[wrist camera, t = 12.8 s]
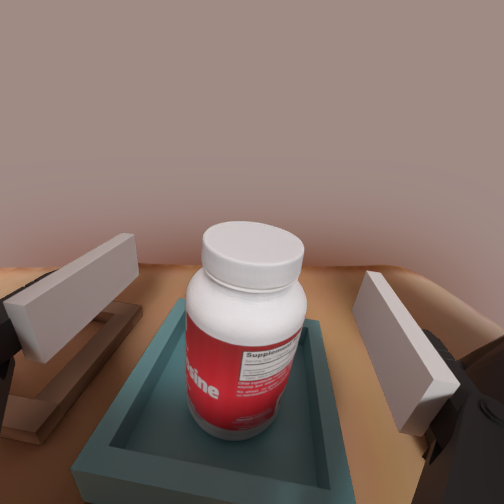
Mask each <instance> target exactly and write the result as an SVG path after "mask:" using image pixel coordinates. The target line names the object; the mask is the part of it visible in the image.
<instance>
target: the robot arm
mask: <svg viewBox="0 0 504 504" xmlns="http://www.w3.org/2000/svg"><path fill="white" fill-rule="evenodd" d="M138 276H139V268H138V258H137V249H136V239H135V234H129V233H121V234H119V235H117V236H115V237H114V238H112V239H110V240H108V241H107V242H105V243H103V244H102V245H100V246H98V247H96V248H95V249H93V250H91V251H90V252H88V253H86V254H85V255H83V256H81V257H79V258H77V259H76V260H74V261H72V262H71V263H69V264H67V265H65V266H64V267H62V268H60V269H57V270H55V271H52V272H49V273H46V274H44V275H42V276H41V277H39V278H37V279H35V281H32V282H30V283H28V284H26V285H25V287H21V288H19V289H18V290H16V291H14V292H12V293H11V294H9V295H7V296H5V297H4V298H2V299H0V433H1V428H2V424H3V419H4V414H5V409H6V405H7V400H8V395H9V390H10V386H11V381H12V376H13V371H14V367H15V359H14V357H13V356H14V355H15V354H16V353H17V352H19V351H20V350H21V349H22V351H23V353H24V355H25V358H26V360H27V361H33V362H38V363H43V364H46V363H47V362H48V361H49V360H50V359H51V358H52V357H53V356H54V355H55V354H56V353H57V352H58V351H60V350H61V349H62V348H63V347H64V346H65V345H66V344H67V343H68V342H69V341H70V340H71V339H72V338H73V337H74V336H75V335H76V334H78V333H79V332H80V331H81V330H82V329H83V328H84V327H85V326H86V325H87V324H88V323H89V322H90V321H91V320H92V319H93V318H94V317H96V316H97V315H98V314H99V313H100V312H101V311H102V310H103V309H104V308H105V307H106V306H107V305H108V304H109V303H110V302H111V301H113V300H114V299H115V298H116V297H117V296H118V295H119V294H120V293H121V292H122V291H123V290H124V289H125V288H126V287H127V286H128V285H129V284H131V283H132V282H133V281H134V280H135V279H136V278H137V277H138ZM352 313H353V316H354V318H355V321H356V323H357V326H358V328H359V331H360V334H361V336H362V339H363V341H364V344H365V346H366V349H367V351H368V354H369V357H370V359H371V362H372V364H373V367H374V369H375V372H376V375H377V377H378V380H379V382H380V385H381V387H382V390H383V392H384V395H385V398H386V400H387V403H388V405H389V408H390V410H391V413H392V416H393V418H394V421H395V423H396V426H397V428H398V431H399V433H404V434H410V435H415V436H420V437H422V436H423V435H424V433H425V434H426V438H427V442H428V445H429V448H428V449H427V451H426V452H425V453H424V455H423V456H422V457H423V458H424V459H425V460H426V462H425V465H424V468H423V471H422V473H421V476H420V479H419V482H418V485H417V488H416V491H415V494H414V497H413V500H412V503H411V504H504V335H503V336H501V337H499V338H497V339H495V340H494V341H492V342H490V343H488V344H486V345H484V346H483V347H481V348H479V349H477V350H475V351H473V352H472V353H470V354H468V355H466V356H465V357H463V358H462V359H460V360H457V361H455V359H454V358H453V356H452V355H451V354H450V353H449V352H448V350H447V349H446V347H445V346H444V345H443V343H442V342H441V341H440V340H439V339H438V338H437V337H436V336H435V335H433V334H432V333H431V332H430V331H428V330H425V329H421V328H420V327H419V326H418V324H417V323H416V321H415V320H414V319H413V317H412V316H411V315H410V313H409V312H408V310H407V309H406V308H405V306H404V305H403V303H402V302H401V301H400V299H399V298H398V296H397V295H396V294H395V292H394V291H393V289H392V288H391V287H390V285H389V284H388V282H387V281H386V280H385V278H384V277H383V275H382V274H381V273H378V272H372V271H366V273H365V276H364V278H363V281H362V284H361V286H360V289H359V292H358V295H357V297H356V300H355V303H354V305H353V308H352Z"/></svg>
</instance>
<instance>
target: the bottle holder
mask: <svg viewBox="0 0 504 504" xmlns="http://www.w3.org/2000/svg"><path fill="white" fill-rule="evenodd" d="M141 317H142V307H141V306H140V305H134V304H128V303H123V302H117V301H111V302H110V303H109V304H108V305H107V306H106V307H105V308H104V309H103V310H102V311H101V312H100V313H99V314H98V315H97V316H96V317H94V318H93V319H92V320H95V321H101V322H106V324H105V325H104V326H103V327H102V328H101V329H100V330H99V332H98V333H97V334H96V335H95V336H94V337H93V338H92V339H91V340H90V341H89V342H88V343H87V344H86V345H85V346H84V347H83V348H82V350H81V351H80V352H79V353H78V354H77V355H76V356H75V357H74V358H73V359H72V360H71V361H70V362H69V363H68V364H67V365H66V366H65V367H64V369H63V370H62V371H61V372H60V373H59V374H58V375H57V376H56V377H55V378H54V379H53V380H52V381H51V382H50V383H49V384H48V385H47V386H46V388H45V389H44V390H43V391H42V392H41V393H40V394H39V395H38V396H37V397H36V398H35V399H30V398H25V397H20V396H15V395H10V394H9V395H8V400H7V405H6V409H5V414H4V419H3V424H2V428H1V433H0V437H3V438H8V439H13V440H18V441H23V442H28V443H33V444H38V445H42V444H43V442H44V441H45V440H46V438H47V437H48V436H49V435H50V433H51V432H52V431H53V429H54V428H55V427H56V426H57V424H58V423H59V422H60V421H61V419H62V418H63V417H64V415H65V414H66V413H67V412H68V410H69V409H70V408H71V406H72V405H73V404H74V403H75V401H76V400H77V399H78V398H79V396H80V395H81V394H82V392H83V391H84V390H85V389H86V387H87V386H88V385H89V384H90V382H91V381H92V380H93V378H94V377H95V376H96V375H97V373H98V372H99V371H100V369H101V368H102V367H103V366H104V364H105V363H106V362H107V361H108V359H109V358H110V357H111V355H112V354H113V353H114V352H115V350H116V349H117V348H118V346H119V345H120V344H121V343H122V341H123V340H124V339H125V338H126V336H127V335H128V334H129V332H130V331H131V330H132V329H133V327H134V326H135V325H136V324H137V322H138V321H139V320H140V318H141Z"/></svg>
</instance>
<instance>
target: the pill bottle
mask: <svg viewBox="0 0 504 504" xmlns="http://www.w3.org/2000/svg"><path fill="white" fill-rule="evenodd" d="M303 256H304V245H303V243H302V242H301V240H300V239H299V238H298V237H296V236H295V235H293V234H291V233H290V232H288V231H285V230H283V229H280V228H278V227H274V226H271V225H267V224H263V223H257V222H247V221H233V222H224V223H220V224H216V225H214V226H212V227H210V228H208V229H207V230H206V231H205V233H204V235H203V240H202V253H201V260H202V264H203V267H202V268H201V269H199V270H198V271H197V272H196V273H195V274H194V276H193V277H192V279H191V280H190V282H189V285H188V287H187V292H186V305H185V311H186V322H185V336H186V396H187V403H188V407H189V410H190V412H191V414H192V416H193V418H194V420H195V421H196V422H197V424H198V425H199V426H200V427H201V428H202V429H203V430H204V431H205V432H207V433H208V434H210V435H212V436H214V437H216V438H219V439H223V440H229V441H239V440H245V439H249V438H252V437H254V436H256V435H258V434H260V433H261V432H263V431H264V430H265V429H266V428H267V427H268V426H269V425H270V424H271V423H272V422H273V420H274V419H275V417H276V415H277V413H278V411H279V408H280V405H281V402H282V399H283V395H284V391H285V388H286V384H287V381H288V377H289V373H290V370H291V366H292V362H293V359H294V355H295V352H296V348H297V345H298V341H299V338H300V334H301V331H302V327H303V324H304V320H305V315H306V310H307V300H306V295H305V293H304V290H303V288H302V286H301V285H300V283H299V282H298V277H299V275H300V273H301V267H302V260H303Z"/></svg>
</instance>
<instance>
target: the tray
mask: <svg viewBox="0 0 504 504" xmlns="http://www.w3.org/2000/svg"><path fill="white" fill-rule="evenodd" d="M185 305H186V299H182V298H179V299H178V301H177V302H176V304H175V306H174V307H173V309H172V310H171V312H170V313H169V315H168V316H167V318H166V320H165V321H164V323H163V324H162V326H161V327H160V329H159V330H158V332H157V334H156V335H155V337H154V338H153V340H152V341H151V343H150V345H149V346H148V348H147V349H146V351H145V352H144V354H143V355H142V357H141V359H140V360H139V362H138V363H137V365H136V366H135V368H134V370H133V371H132V373H131V374H130V376H129V377H128V379H127V380H126V382H125V384H124V385H123V387H122V388H121V390H120V391H119V393H118V394H117V396H116V398H115V399H114V401H113V402H112V404H111V405H110V407H109V409H108V410H107V412H106V413H105V415H104V416H103V418H102V419H101V421H100V423H99V424H98V426H97V427H96V429H95V430H94V432H93V434H92V435H91V437H90V438H89V440H88V441H87V443H86V444H85V446H84V448H83V449H82V451H81V452H80V454H79V455H78V457H77V459H76V460H75V462H74V463H73V465H72V466H71V468H70V470H71V473H72V475H73V478H74V480H75V483H76V485H77V487H78V490H79V492H80V495H81V497H82V499H83V501H84V502H89V503H94V504H356V501H355V496H354V491H353V486H352V481H351V476H350V471H349V466H348V462H347V457H346V452H345V447H344V442H343V437H342V432H341V427H340V422H339V417H338V412H337V407H336V402H335V397H334V393H333V388H332V383H331V378H330V373H329V368H328V363H327V358H326V353H325V348H324V343H323V338H322V333H321V328H320V324H319V321H316V320H310V319H305V320H304V324H303V327H302V331H301V334H300V338H299V341H298V345H297V348H296V352H295V355H294V359H293V362H292V366H291V370H290V373H289V377H288V381H287V384H286V388H285V391H284V395H283V399H282V402H281V405H280V408H279V411H278V413H277V415H276V417H275V419H274V420H273V422H272V423H271V424H270V425H269V426H268V427H267V428H266V429H265V430H264V431H263V432H261V433H260V434H258V435H256V436H254V437H252V438H249V439H245V440H239V441H229V440H223V439H219V438H216V437H214V436H212V435H210V434H208V433H207V432H205V431H204V430H203V429H202V428H201V427H200V426H199V425H198V424H197V422H196V421H195V420H194V418H193V416H192V414H191V412H190V410H189V407H188V403H187V396H186V336H185V322H186V311H185Z"/></svg>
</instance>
